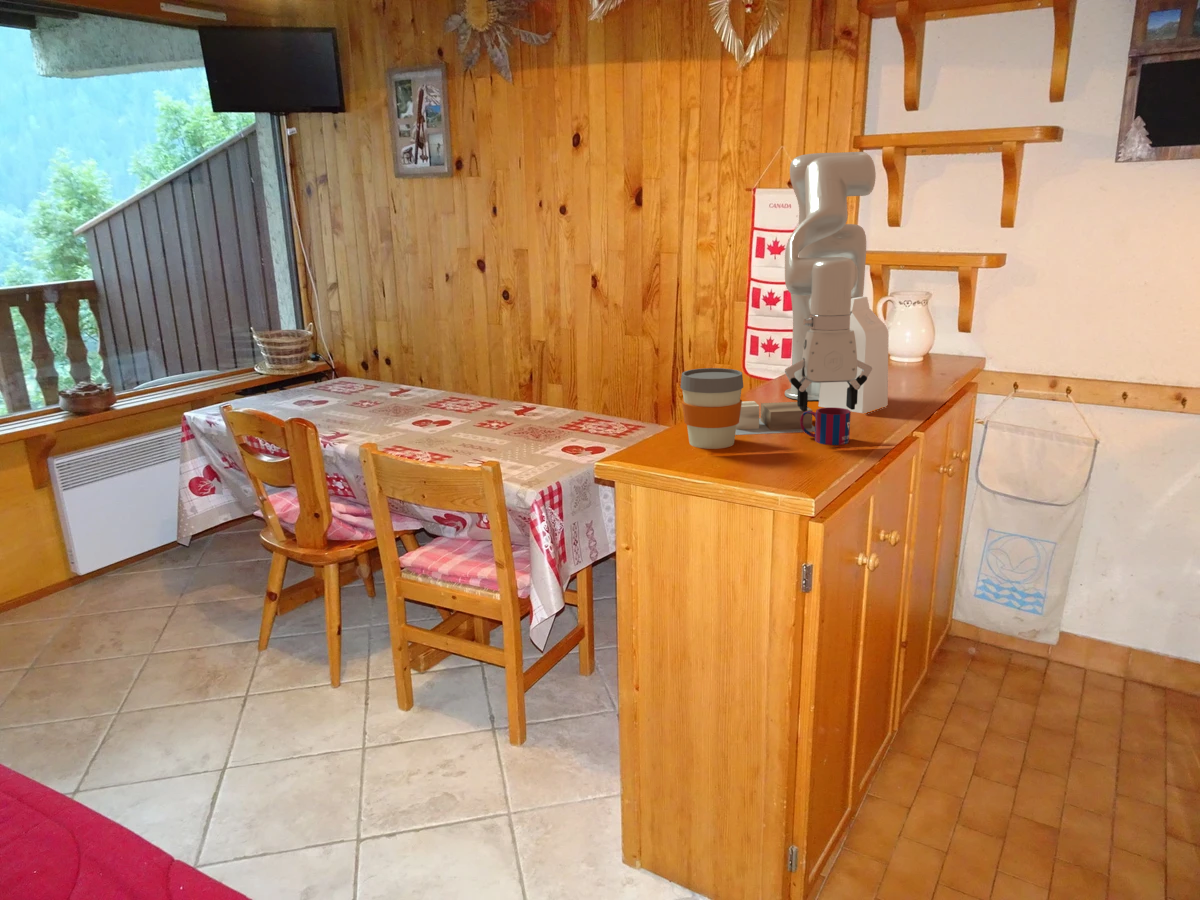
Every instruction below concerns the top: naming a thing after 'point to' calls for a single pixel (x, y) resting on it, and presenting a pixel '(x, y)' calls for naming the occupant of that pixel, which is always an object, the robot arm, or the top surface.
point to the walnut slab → (784, 416)
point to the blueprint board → (768, 430)
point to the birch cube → (749, 416)
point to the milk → (869, 351)
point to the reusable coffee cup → (711, 406)
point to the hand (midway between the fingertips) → (826, 409)
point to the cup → (830, 426)
